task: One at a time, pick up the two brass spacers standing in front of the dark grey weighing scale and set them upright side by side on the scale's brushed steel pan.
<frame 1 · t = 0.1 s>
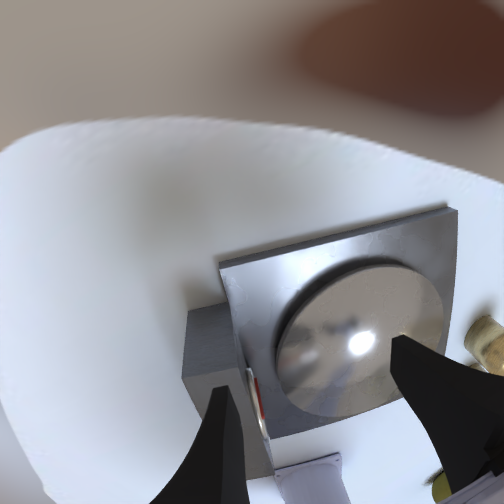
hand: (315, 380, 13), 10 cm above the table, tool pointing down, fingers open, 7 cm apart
spacer a: (478, 333, 27), on the table
scale pan: (367, 351, 23), point 2 cm above the table, slide at 0.2 cm
scale: (356, 335, 25), on the table
apple: (443, 472, 41), on the table
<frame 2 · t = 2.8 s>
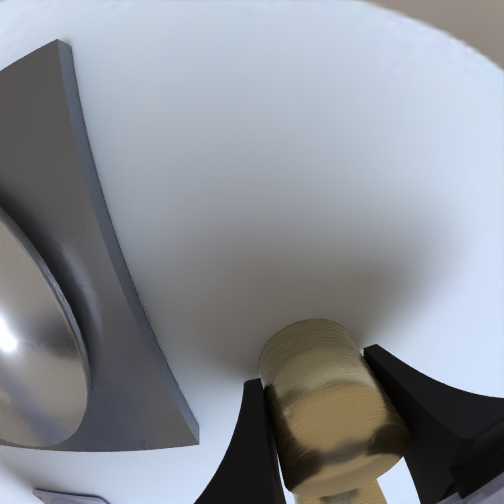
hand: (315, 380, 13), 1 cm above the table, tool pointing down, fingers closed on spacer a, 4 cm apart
spacer a: (307, 359, 14), on the table, touching gripper
spacer b: (318, 441, 16), on the table
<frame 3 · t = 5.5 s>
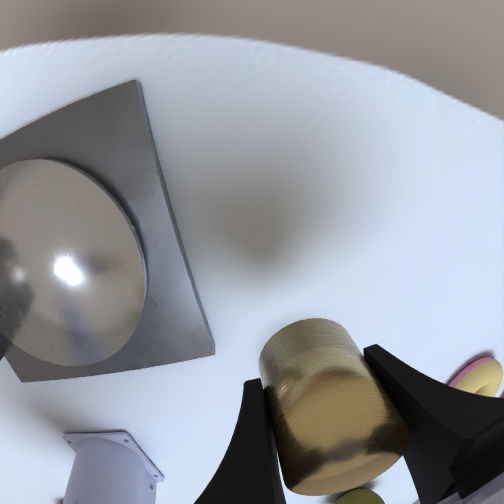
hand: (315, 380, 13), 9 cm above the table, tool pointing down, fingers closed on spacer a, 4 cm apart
spacer a: (306, 359, 14), point 8 cm above the table, touching gripper
scale pan: (42, 273, 17), point 2 cm above the table, slide at 0.2 cm
scale: (55, 260, 19), on the table
apple: (350, 493, 35), on the table
donut: (462, 385, 30), on the table
when the fingers open (5 cm above the table, at t = 8.4 s): spacer a drops 1 cm, resting on scale pan.
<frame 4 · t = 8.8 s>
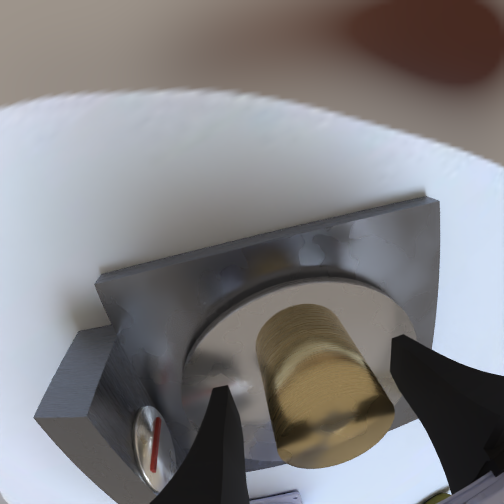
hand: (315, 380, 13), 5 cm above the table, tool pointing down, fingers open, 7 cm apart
spacer a: (300, 342, 15), point 2 cm above the table, touching scale pan
scale pan: (306, 390, 17), point 2 cm above the table, slide at 0.5 cm, touching spacer a
scale: (299, 369, 19), on the table
apple: (431, 498, 35), on the table
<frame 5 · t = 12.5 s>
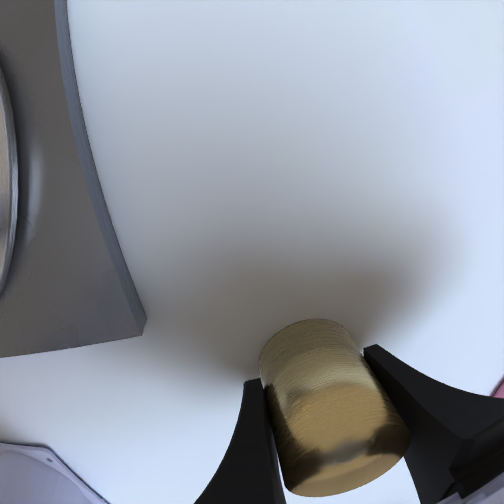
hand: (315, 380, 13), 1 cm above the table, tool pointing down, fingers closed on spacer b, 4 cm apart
spacer b: (307, 359, 14), on the table, touching gripper
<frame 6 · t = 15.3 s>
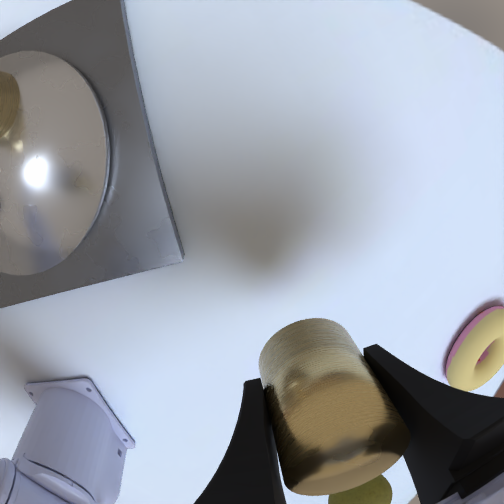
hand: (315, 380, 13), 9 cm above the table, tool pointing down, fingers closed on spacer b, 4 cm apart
scale pan: (8, 164, 15), point 2 cm above the table, slide at 0.5 cm, touching spacer a
scale: (23, 161, 16), on the table
spacer b: (306, 359, 14), point 8 cm above the table, touching gripper
apple: (350, 474, 33), on the table
donut: (473, 341, 27), on the table
when the fingers open (5 cm above the table, at t = 18.2 s): spacer b drops 2 cm, resting on scale pan.
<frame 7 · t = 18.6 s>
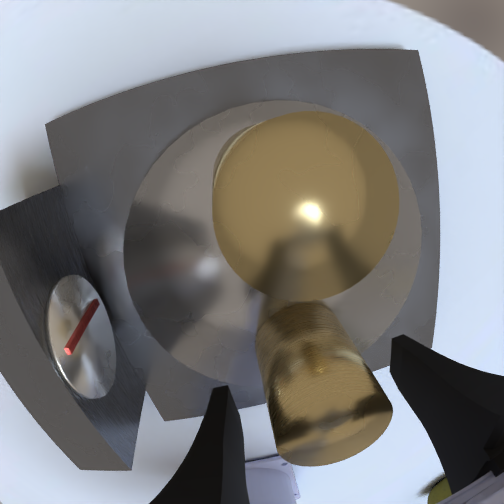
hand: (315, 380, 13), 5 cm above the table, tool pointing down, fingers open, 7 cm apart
spacer a: (268, 177, 13), point 2 cm above the table, touching scale pan
scale pan: (284, 264, 14), point 2 cm above the table, slide at 0.6 cm, touching spacer a, spacer b
scale: (276, 250, 16), on the table
spacer b: (299, 341, 15), point 2 cm above the table, touching scale pan
apple: (441, 480, 32), on the table
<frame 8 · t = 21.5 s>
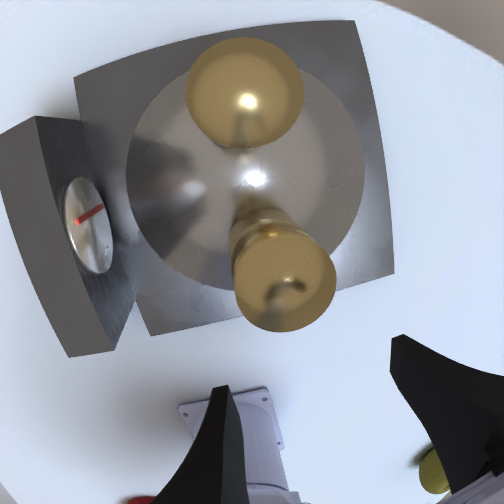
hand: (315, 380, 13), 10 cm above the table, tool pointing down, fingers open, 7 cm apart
spacer a: (234, 108, 16), point 2 cm above the table, touching scale pan
scale pan: (249, 175, 18), point 2 cm above the table, slide at 0.6 cm, touching spacer a, spacer b
scale: (245, 172, 20), on the table
spacer b: (264, 244, 19), point 2 cm above the table, touching scale pan
apple: (432, 451, 35), on the table
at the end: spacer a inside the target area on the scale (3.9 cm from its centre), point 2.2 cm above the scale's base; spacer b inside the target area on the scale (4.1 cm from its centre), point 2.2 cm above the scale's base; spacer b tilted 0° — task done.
